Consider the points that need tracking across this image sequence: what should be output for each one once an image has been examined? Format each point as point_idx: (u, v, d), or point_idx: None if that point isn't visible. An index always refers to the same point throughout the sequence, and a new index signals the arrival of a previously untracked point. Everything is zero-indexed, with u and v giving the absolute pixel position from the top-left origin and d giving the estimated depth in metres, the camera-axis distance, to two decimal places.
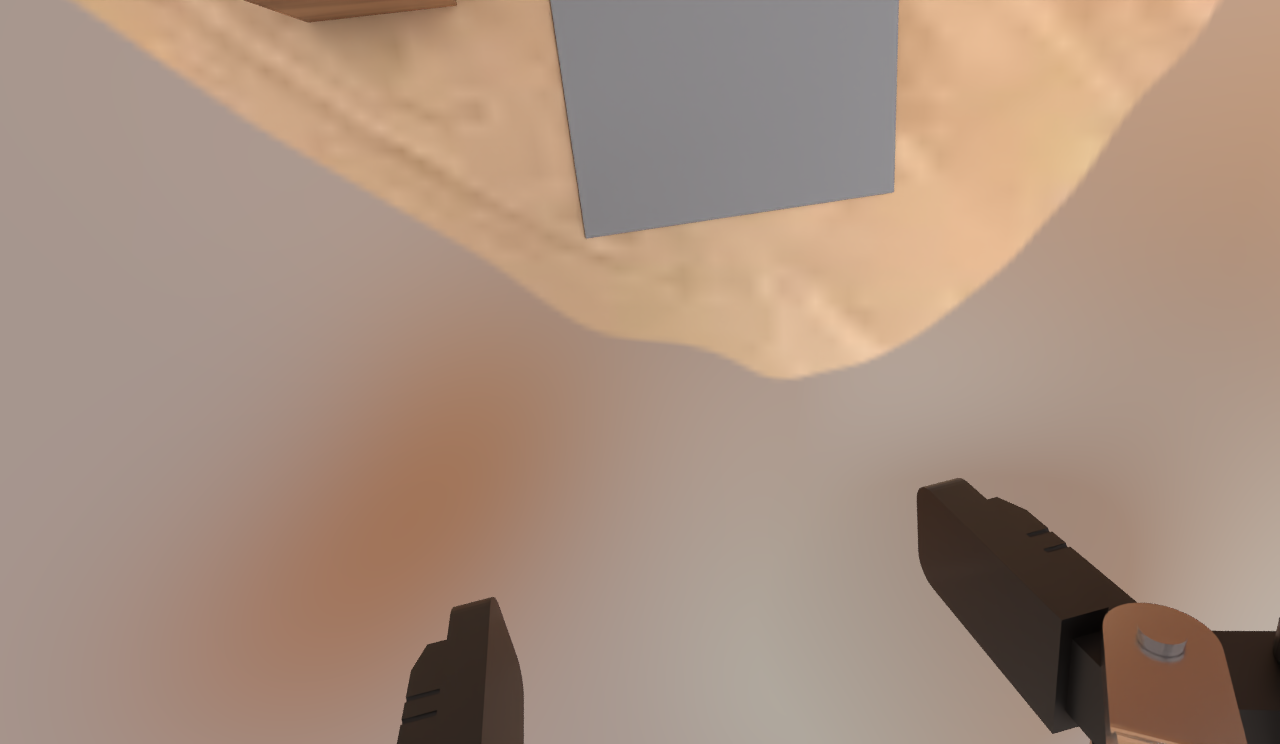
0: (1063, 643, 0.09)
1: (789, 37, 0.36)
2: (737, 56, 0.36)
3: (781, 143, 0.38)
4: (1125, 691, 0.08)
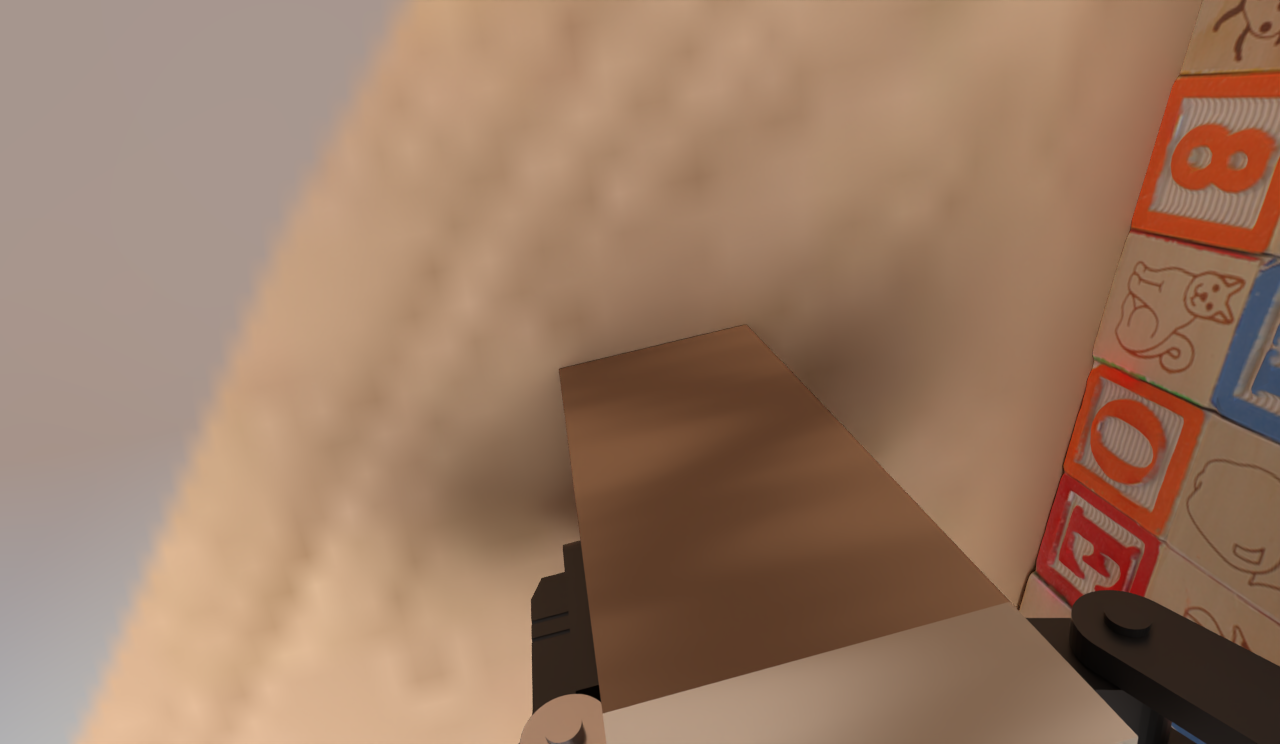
0: None
1: None
2: None
3: None
4: None
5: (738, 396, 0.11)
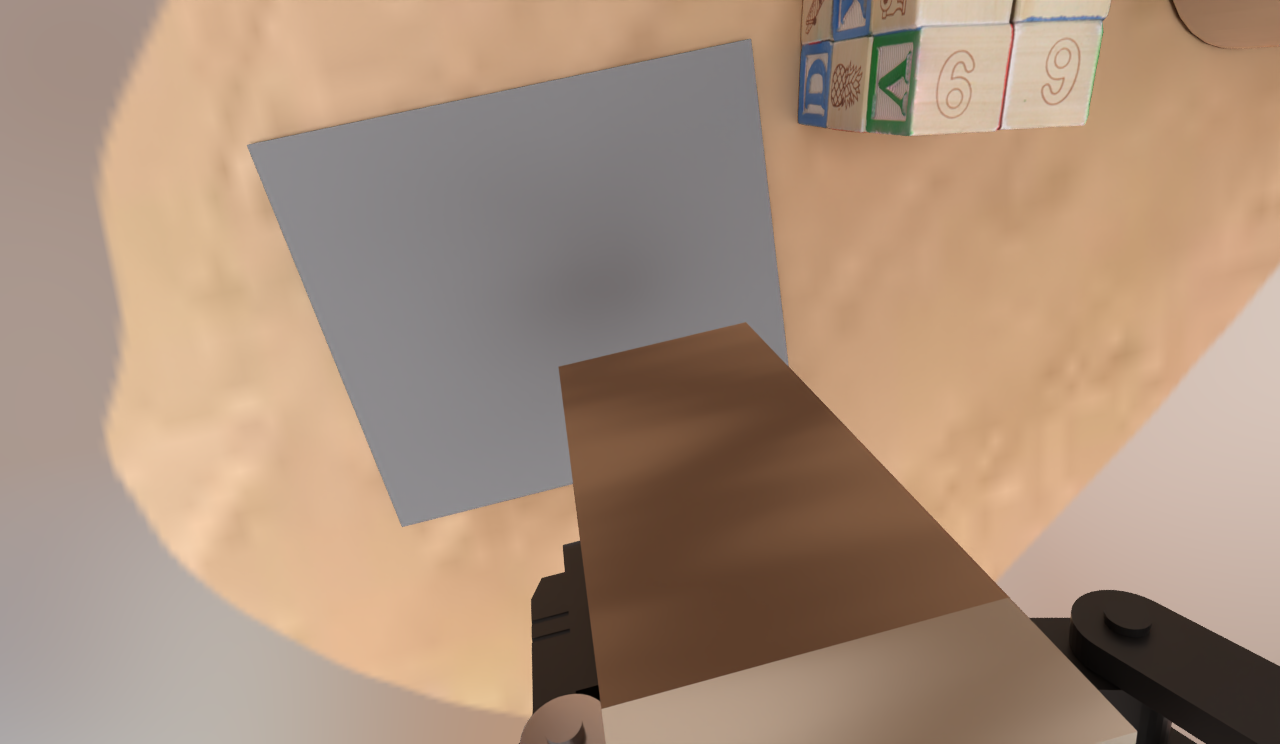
0: None
1: (548, 374, 0.32)
2: (520, 319, 0.30)
3: (431, 388, 0.31)
4: None
5: (737, 393, 0.11)
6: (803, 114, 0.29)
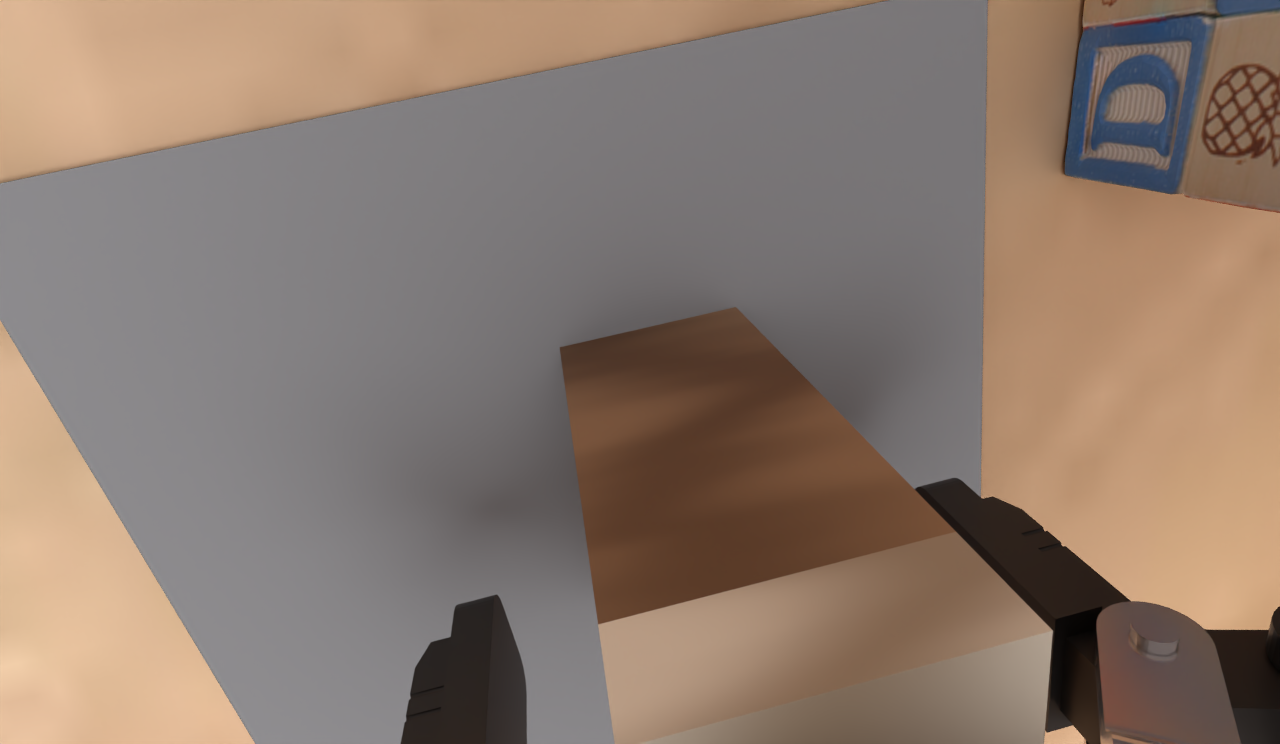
0: (1057, 642, 0.09)
1: (567, 596, 0.18)
2: (517, 510, 0.16)
3: (354, 628, 0.17)
4: (1119, 690, 0.08)
5: (725, 369, 0.12)
6: (1083, 160, 0.15)
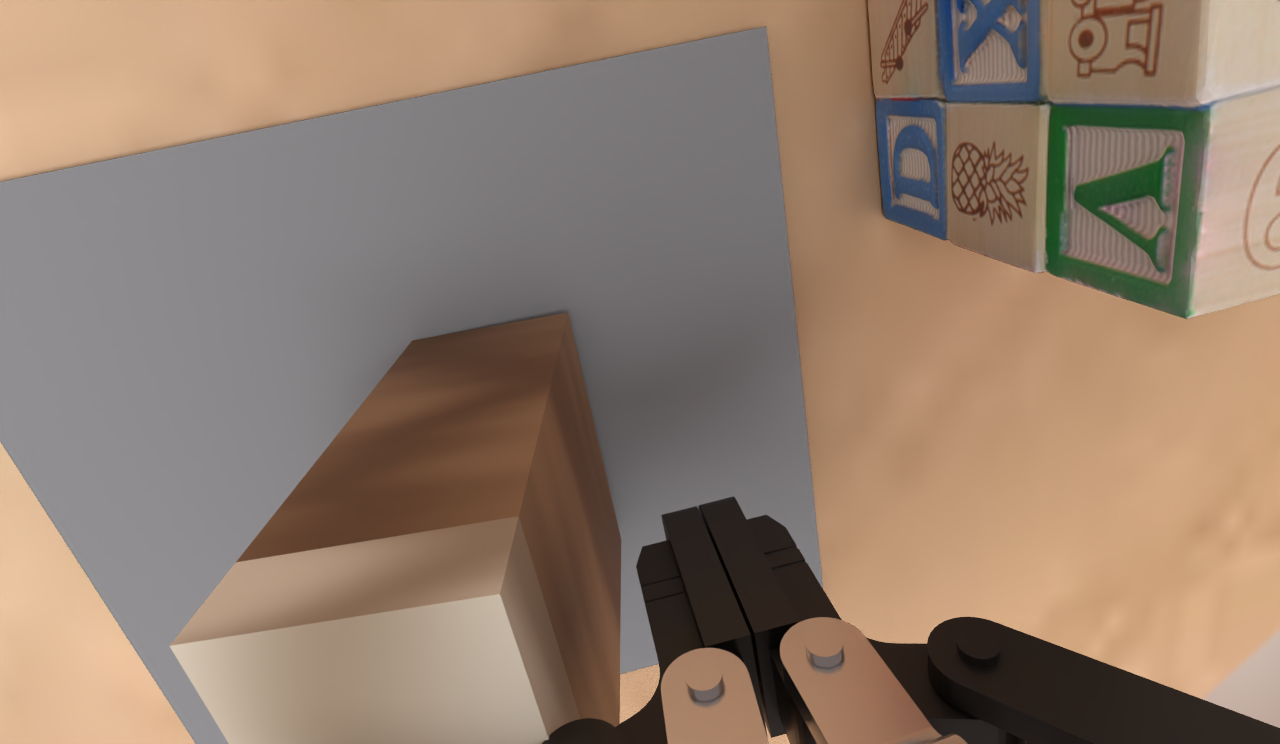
0: (762, 654, 0.10)
1: None
2: None
3: None
4: (830, 719, 0.08)
5: (505, 369, 0.14)
6: (893, 206, 0.18)
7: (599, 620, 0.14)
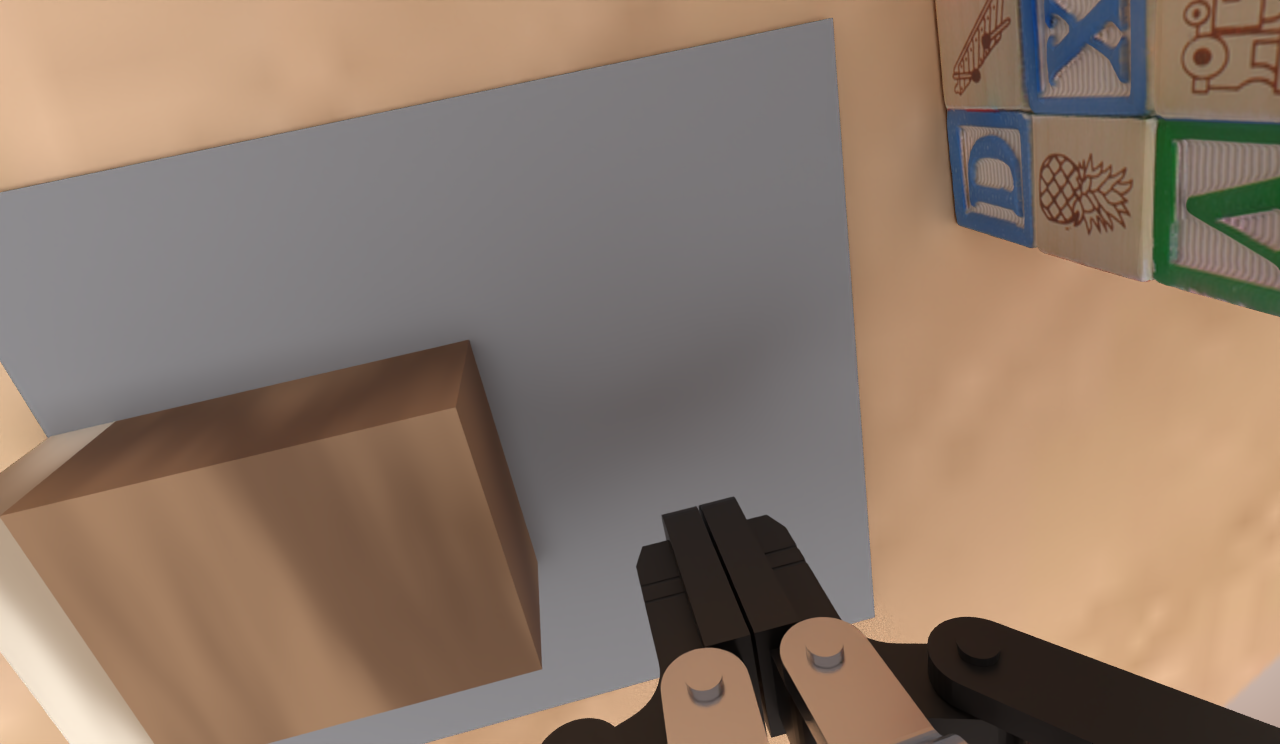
0: (762, 654, 0.10)
1: None
2: None
3: None
4: (830, 719, 0.08)
5: (312, 420, 0.14)
6: (968, 214, 0.18)
7: (273, 663, 0.15)
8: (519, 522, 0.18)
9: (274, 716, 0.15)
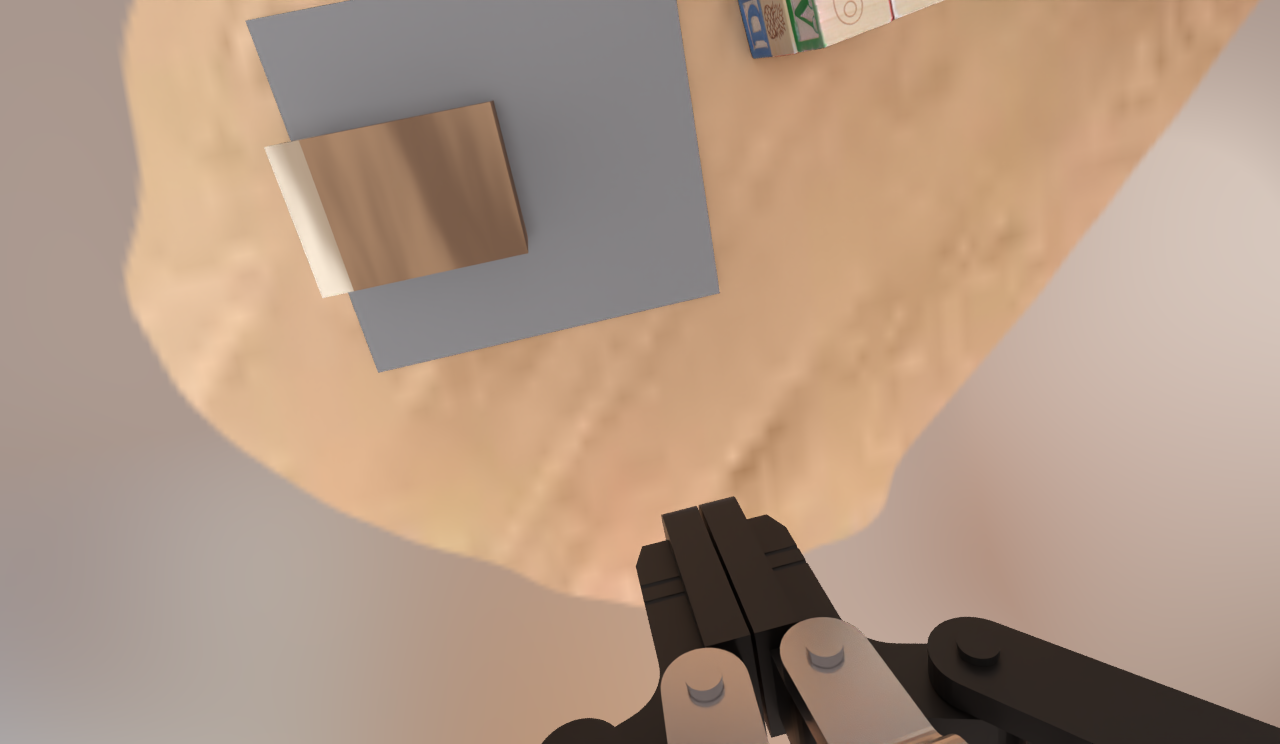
0: (762, 654, 0.10)
1: None
2: None
3: None
4: (830, 719, 0.08)
5: None
6: (754, 50, 0.35)
7: (404, 233, 0.32)
8: (518, 201, 0.35)
9: (402, 265, 0.33)
